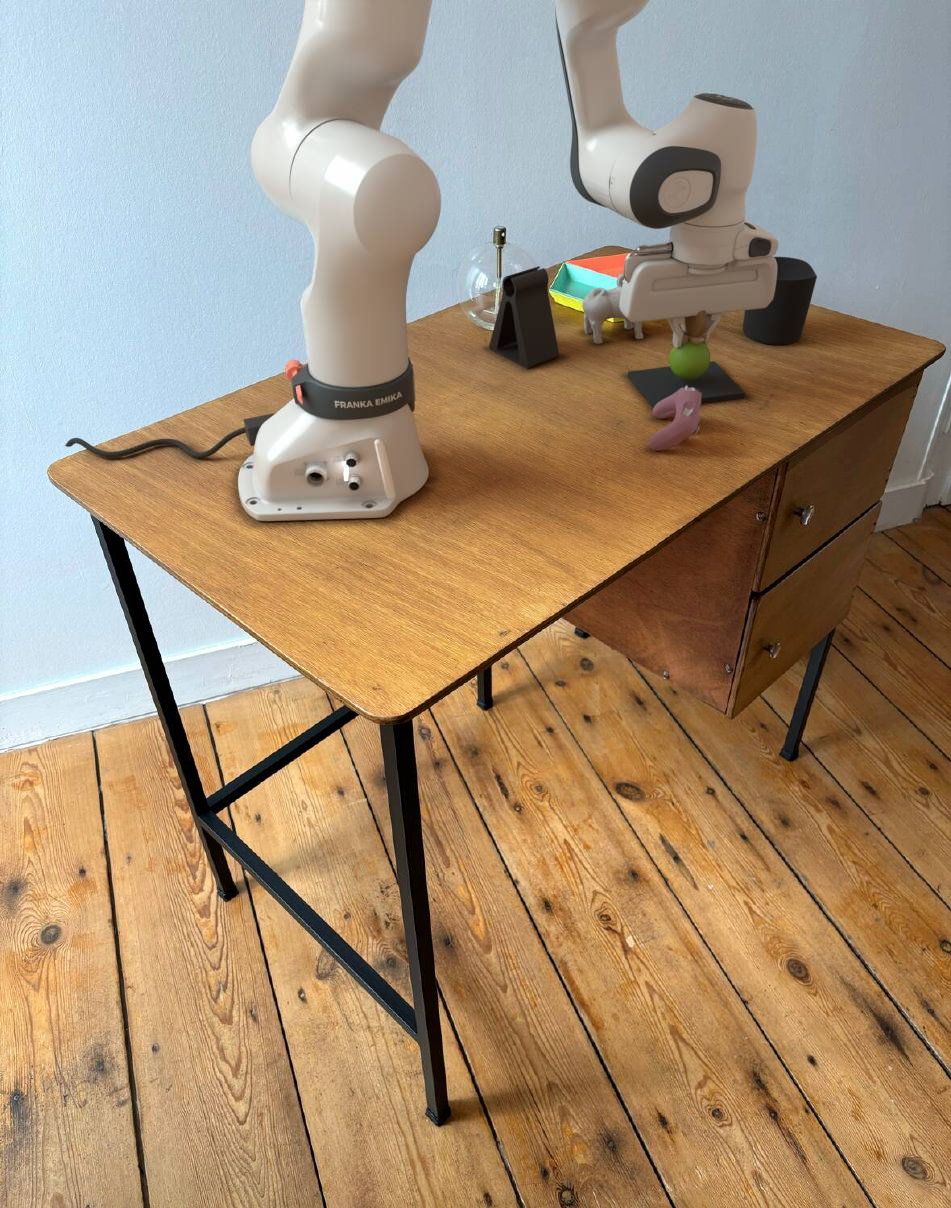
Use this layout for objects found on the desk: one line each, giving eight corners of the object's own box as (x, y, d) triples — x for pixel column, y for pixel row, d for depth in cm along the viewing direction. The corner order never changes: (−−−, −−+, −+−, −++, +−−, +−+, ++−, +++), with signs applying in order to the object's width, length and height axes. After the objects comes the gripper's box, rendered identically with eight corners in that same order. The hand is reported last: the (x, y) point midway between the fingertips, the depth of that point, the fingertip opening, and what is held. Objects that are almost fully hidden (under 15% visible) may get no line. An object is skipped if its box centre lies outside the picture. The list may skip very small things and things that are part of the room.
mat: (653, 409, 127) (654, 404, 126) (627, 376, 134) (627, 371, 134) (744, 397, 129) (745, 392, 128) (713, 366, 136) (714, 361, 136)
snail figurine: (689, 362, 134) (701, 278, 126) (715, 382, 129) (729, 295, 121) (655, 370, 132) (665, 284, 124) (680, 389, 128) (692, 302, 120)
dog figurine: (668, 335, 145) (677, 265, 138) (589, 346, 142) (594, 275, 135) (653, 321, 149) (661, 252, 142) (576, 331, 146) (580, 262, 139)
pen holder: (815, 333, 145) (830, 267, 138) (783, 352, 139) (797, 285, 133) (760, 316, 150) (772, 251, 143) (727, 334, 144) (738, 268, 138)
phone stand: (488, 348, 142) (488, 267, 134) (520, 337, 145) (521, 258, 137) (527, 369, 136) (529, 286, 129) (559, 357, 139) (563, 276, 131)
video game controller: (676, 466, 118) (709, 423, 114) (644, 448, 118) (676, 404, 113) (679, 427, 126) (710, 385, 121) (649, 410, 125) (679, 368, 121)
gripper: (635, 255, 115) (624, 363, 123) (791, 240, 118) (770, 346, 127) (617, 238, 119) (608, 343, 128) (767, 224, 123) (749, 327, 132)
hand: (690, 344), depth 128 cm, fingers closed on snail figurine
